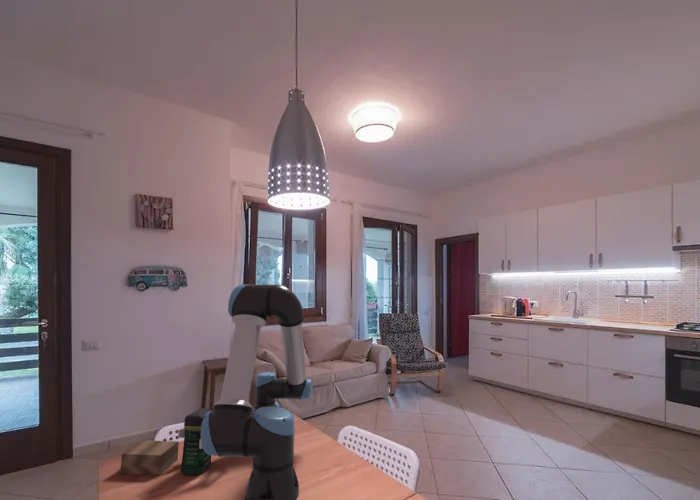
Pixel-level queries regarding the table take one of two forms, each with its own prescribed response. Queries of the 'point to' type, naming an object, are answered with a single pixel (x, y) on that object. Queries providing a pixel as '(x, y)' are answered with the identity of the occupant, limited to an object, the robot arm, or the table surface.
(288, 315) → the robot arm
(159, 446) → the block
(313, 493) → the table surface
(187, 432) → the green supplement bottle
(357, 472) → the table surface
